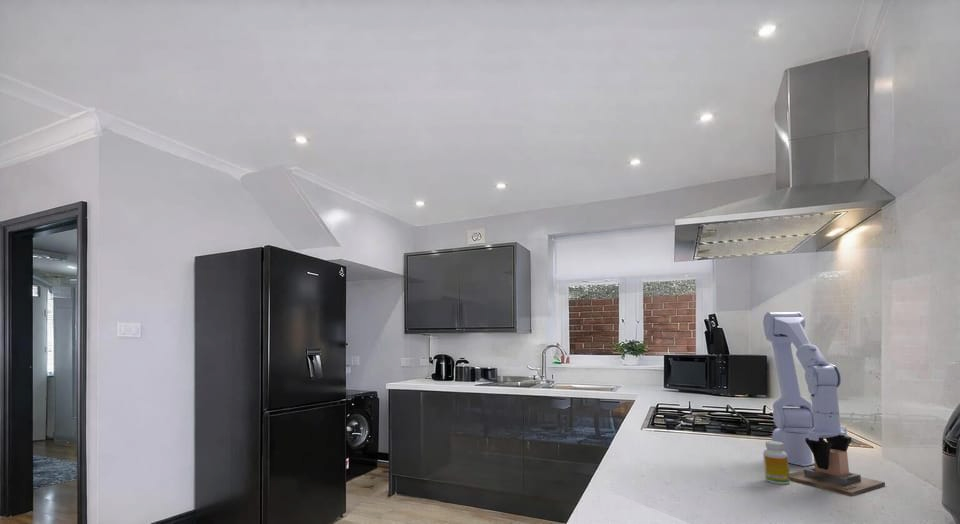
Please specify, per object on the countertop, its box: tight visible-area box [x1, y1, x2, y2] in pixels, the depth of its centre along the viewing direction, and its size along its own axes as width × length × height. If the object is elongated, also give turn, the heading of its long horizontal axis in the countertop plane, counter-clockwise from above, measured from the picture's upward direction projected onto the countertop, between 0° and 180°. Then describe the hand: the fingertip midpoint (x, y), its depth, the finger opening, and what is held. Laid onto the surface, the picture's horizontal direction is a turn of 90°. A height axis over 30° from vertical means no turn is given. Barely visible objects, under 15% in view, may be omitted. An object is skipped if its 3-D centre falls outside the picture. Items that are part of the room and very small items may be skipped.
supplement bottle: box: [762, 440, 791, 485], centre depth 127 cm, size 5×5×10 cm
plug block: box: [813, 449, 850, 477], centre depth 126 cm, size 6×4×7 cm, turn 29°
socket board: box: [789, 466, 886, 497], centre depth 126 cm, size 16×16×2 cm
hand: (831, 466), depth 126 cm, fingers open, 7 cm apart
